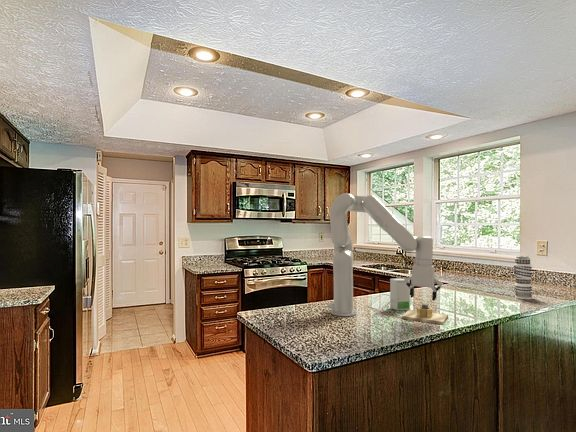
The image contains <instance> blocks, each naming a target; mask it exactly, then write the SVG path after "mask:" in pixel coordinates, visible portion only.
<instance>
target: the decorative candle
mask: <svg viewBox="0 0 576 432" xmlns="http://www.w3.org/2000/svg"><path fill="white" fill-rule="evenodd" d="M514 262H515V263H514V265H513V267H514V269H513V271H514V279H515V285H514V290H515V291H514V295H515V298H517V299H521V300H532V299H533V298H532V297H533V292H532V291H533V289H532V288H533V286H532V283H531V282H532V281H531V280H532V278H533V276H532V274H533V273H532V271H533V267H532V264H531V258H530V257H529V256H528V255H517V256H516V257H515V258H514Z"/></svg>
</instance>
